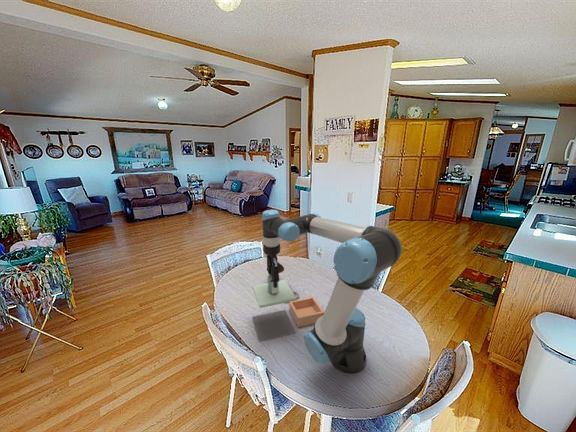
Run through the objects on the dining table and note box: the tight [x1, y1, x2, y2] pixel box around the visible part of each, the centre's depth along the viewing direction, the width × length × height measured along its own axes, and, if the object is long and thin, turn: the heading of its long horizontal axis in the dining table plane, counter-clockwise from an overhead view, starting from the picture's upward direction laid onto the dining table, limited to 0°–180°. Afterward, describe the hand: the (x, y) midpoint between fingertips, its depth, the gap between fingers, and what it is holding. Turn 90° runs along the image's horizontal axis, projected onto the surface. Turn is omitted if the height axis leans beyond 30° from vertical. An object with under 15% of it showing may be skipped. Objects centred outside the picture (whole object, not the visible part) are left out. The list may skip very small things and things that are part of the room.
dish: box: [288, 296, 325, 329], centre depth 134 cm, size 14×14×6 cm
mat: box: [251, 309, 297, 343], centre depth 129 cm, size 18×18×1 cm
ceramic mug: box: [287, 283, 300, 300], centre depth 149 cm, size 11×8×8 cm
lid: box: [252, 274, 297, 309], centre depth 122 cm, size 17×17×9 cm
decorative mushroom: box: [279, 262, 285, 274], centre depth 163 cm, size 11×11×15 cm
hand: (273, 289), depth 123 cm, fingers closed on lid, 5 cm apart
